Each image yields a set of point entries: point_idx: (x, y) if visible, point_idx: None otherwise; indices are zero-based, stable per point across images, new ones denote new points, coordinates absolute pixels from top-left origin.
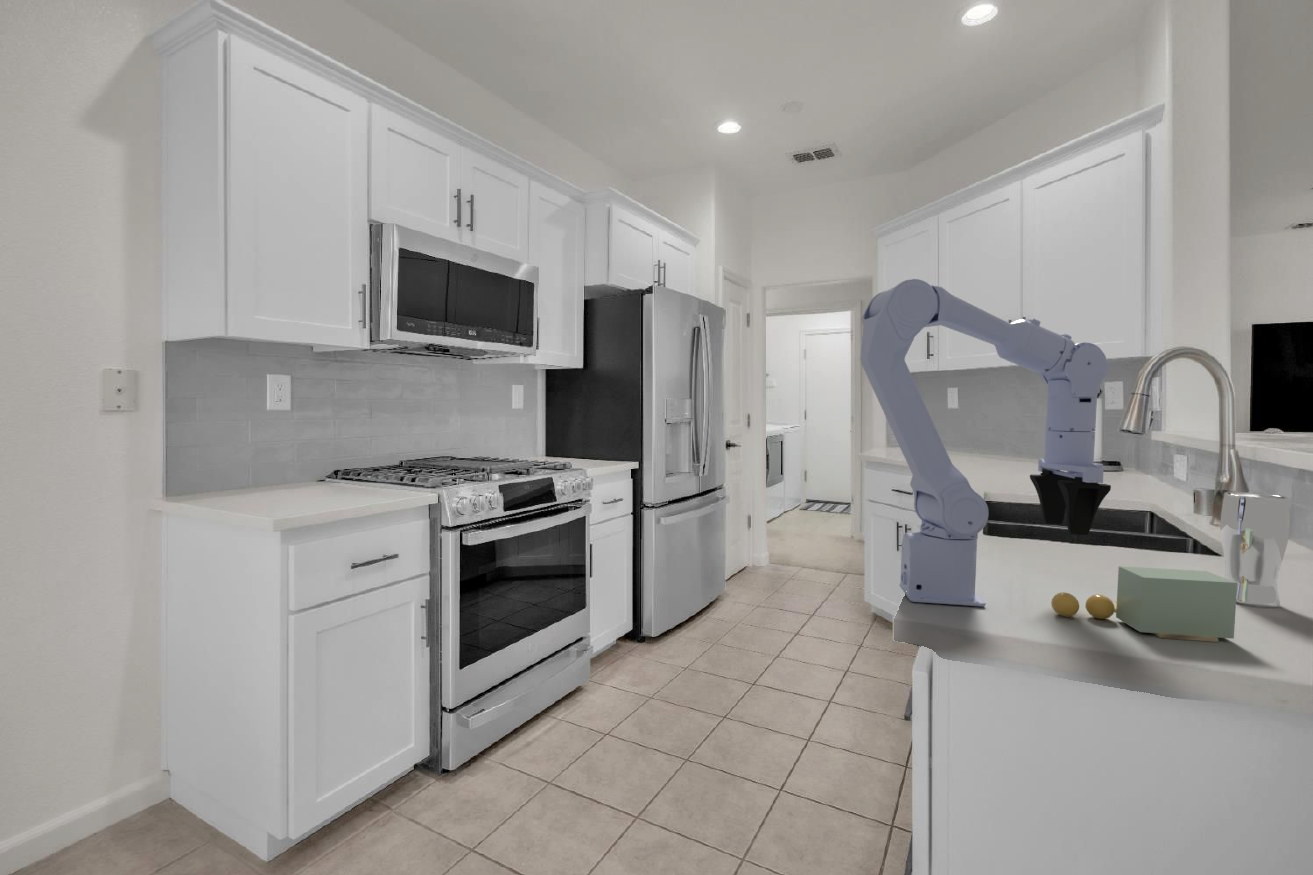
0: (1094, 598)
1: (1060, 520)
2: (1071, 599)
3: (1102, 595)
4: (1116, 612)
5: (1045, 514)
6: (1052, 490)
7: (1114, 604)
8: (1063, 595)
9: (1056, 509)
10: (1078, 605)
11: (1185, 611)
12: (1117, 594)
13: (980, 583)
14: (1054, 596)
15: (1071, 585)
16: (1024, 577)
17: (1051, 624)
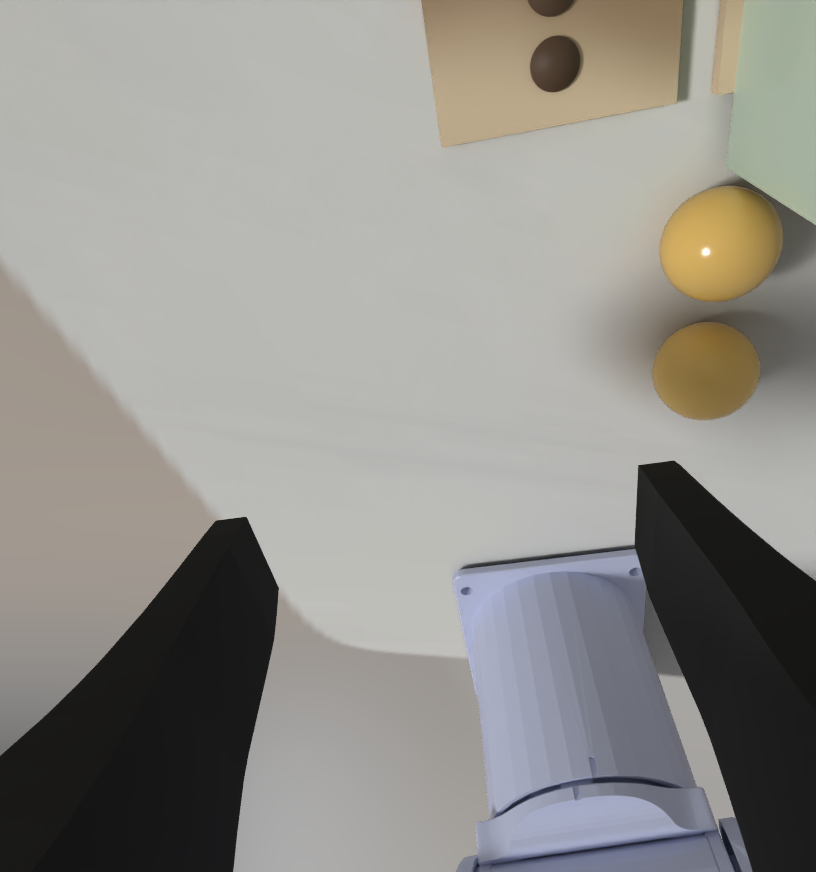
0: (749, 289)
1: (243, 545)
2: (756, 376)
3: (744, 257)
4: (737, 173)
5: (271, 650)
6: (188, 840)
7: (500, 100)
8: (740, 405)
9: (229, 639)
10: (745, 338)
11: None
12: (778, 198)
13: (323, 525)
14: (702, 419)
15: (131, 198)
16: (109, 375)
17: (792, 407)
